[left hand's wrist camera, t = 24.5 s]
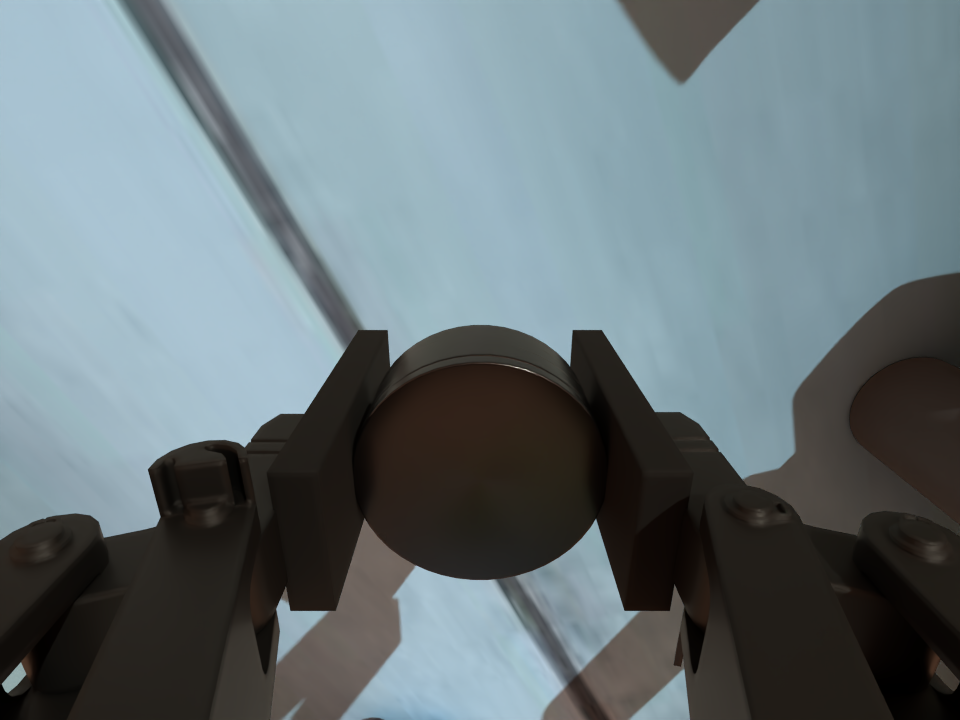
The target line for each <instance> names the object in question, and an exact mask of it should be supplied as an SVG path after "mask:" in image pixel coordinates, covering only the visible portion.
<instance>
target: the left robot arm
mask: <svg viewBox="0 0 960 720" xmlns="http://www.w3.org/2000/svg"><path fill="white" fill-rule="evenodd" d="M570 368H571V369H572V370H573V371H574V373H575V374H576V376H577V378H578V380H579V382H580V384H581V386H582V388H583V390H584V393H585V395H586V398H587V400H588V402H589V405H590V407H591V410H592V412H593V414H594V417H595V419H596V422H597V424H598V426H599V429H600V431H601V434H602V437H603V439H604V442H605V445H606V450H607V455H608V473H607V483H606V492H605V499H604V502H603V505H602V507H601V509H600V511H599V514H598V516H597V517H596V520H597V523H598V526H599V529H600V533H601V536H602V539H603V542H604V546H605V549H606V552H607V555H608V559H609V562H610V565H611V568H612V572H613V575H614V578H615V581H616V585H617V588H618V591H619V594H620V598H621V601H622V604H623V607H624V611H670V607H671V601H672V595H673V590H674V584H675V586H676V588H677V591H678V593H679V595H680V597H681V600H682V602H683V604H684V611H683V616H682V622H681V627H680V632H679V638H678V643H677V648H676V654H675V660H674V665H676V666H680V667H681V664H682V659H683V660H684V669H685V678H686V687H687V696H688V704H689V713H690V720H960V683H959V685H958V687H957V689H956V690H955V691H952V690H951V689H950V688H949V687H948V686H946V685H945V684H944V683H943V681H942V680H941V679H940V678H939V677H938V676H937V674H936V673H935V671H936V668H937V666H938V664H939V662H940V659H941V660H942V661H943V662H944V663H945V665H946V666H947V667H948V668H949V669H950V670H951V671H952V673H953V674H954V675H955V676H956V677H957V678H958V679H959V680H960V537H959V536H958V535H956V534H955V533H953V532H952V531H950V530H949V529H946V528H944V527H942V526H940V525H938V524H935V523H933V522H932V521H930V520H928V519H925V518H922V517H919V516H918V517H916V516H915V515H911V514H907V513H898V512H889V511H883V512H876V513H870V514H869V515H868V516H867V517H865V518H864V519H863V520H862V523H861V526H860V529H859V532H858V535H852V534H847V533H842V532H837V531H832V530H827V529H822V528H817V527H813V526H809V525H805V524H803V523H802V521H801V519H800V517H799V515H798V514H797V513H796V511H795V510H794V509H793V508H792V506H791V505H789V504H788V503H787V502H785V501H784V500H782V499H781V498H779V497H778V496H776V495H774V494H772V493H769V492H767V491H765V490H762V489H760V488H755V487H751V486H747V485H746V484H745V483H744V481H743V480H742V479H741V477H740V476H739V475H738V474H737V472H736V471H735V470H734V468H733V467H732V466H731V465H730V463H729V462H728V461H727V459H726V458H725V457H724V456H723V454H722V453H721V452H719V451H718V448H717V447H716V445H715V444H714V443H713V441H712V440H710V438H709V436H708V435H707V434H706V432H705V431H704V430H703V429H702V427H701V426H700V425H699V424H698V423H696V422H695V421H693V420H692V419H690V418H688V417H687V416H685V415H684V414H682V413H680V412H654V410H653V409H652V407H651V405H650V404H649V402H648V401H647V399H646V398H645V396H644V395H643V393H642V392H641V390H640V389H639V387H638V385H637V384H636V382H635V381H634V379H633V378H632V376H631V375H630V373H629V372H628V370H627V368H626V367H625V365H624V364H623V362H622V361H621V359H620V358H619V356H618V355H617V353H616V351H615V350H614V348H613V347H612V345H611V344H610V342H609V341H608V339H607V338H606V336H605V334H604V333H603V331H602V330H573V334H572V349H571V364H570ZM389 369H390V359H389V344H388V330H358V332H357V333H356V335H355V337H354V338H353V340H352V341H351V343H350V344H349V346H348V347H347V349H346V350H345V352H344V354H343V355H342V357H341V358H340V360H339V361H338V363H337V364H336V366H335V367H334V369H333V371H332V372H331V374H330V375H329V377H328V378H327V380H326V381H325V383H324V384H323V386H322V387H321V389H320V391H319V392H318V394H317V395H316V397H315V398H314V400H313V401H312V403H311V404H310V406H309V408H308V409H307V411H306V412H305V414H280V415H278V416H277V417H275V418H273V419H272V420H270V421H269V422H267V423H265V424H264V425H262V426H261V427H260V429H259V430H258V431H257V433H256V434H255V435H254V436H253V438H252V439H251V442H249V443H248V444H247V446H246V447H245V448H244V447H243V446H242V445H240V444H239V443H236V442H231V441H227V440H209V441H203V442H198V443H193V444H189V445H186V446H183V447H181V448H178V449H175V450H173V451H171V452H169V453H167V454H166V455H164V456H162V457H161V458H159V459H157V460H156V461H155V462H154V463H153V464H152V466H151V467H150V468H149V469H148V472H149V475H150V479H151V483H152V487H153V490H154V494H155V498H156V501H157V505H158V509H159V512H160V516H161V518H160V520H159V522H158V524H157V526H156V527H153V528H149V529H145V530H141V531H136V532H131V533H126V534H121V535H116V536H111V537H106V538H104V537H103V534H102V531H101V528H100V525H99V522H98V521H97V520H96V519H94V518H93V517H92V516H90V515H83V514H67V515H58V516H52V517H47V518H46V519H40V520H37V521H34V522H32V523H30V524H29V525H27V526H25V527H23V528H20V529H18V530H16V531H14V532H12V533H11V534H9V535H8V536H6V537H5V538H3V539H2V540H0V720H270V715H271V706H272V697H273V688H274V679H275V670H276V661H277V652H278V643H279V634H280V629H279V622H278V616H277V611H276V608H277V606H278V603H279V601H280V599H281V596H282V594H283V592H284V590H285V587H286V588H287V593H288V599H289V605H290V611H336V608H337V605H338V602H339V599H340V595H341V592H342V589H343V586H344V582H345V579H346V576H347V573H348V569H349V566H350V563H351V560H352V556H353V553H354V550H355V547H356V543H357V540H358V537H359V534H360V530H361V527H362V524H363V521H364V516H363V514H362V512H361V509H360V507H359V505H358V502H357V499H356V495H355V488H354V479H353V468H352V460H353V454H354V449H355V444H356V441H357V439H358V436H359V434H360V431H361V429H362V426H363V424H364V421H365V419H366V417H367V414H368V412H369V409H370V407H371V405H372V402H373V400H374V397H375V395H376V393H377V390H378V388H379V385H380V383H381V381H382V380H383V378H384V376H385V374H386V373H387V371H388V370H389ZM20 662H21V663H22V665H23V667H24V670H25V672H26V674H27V675H26V676H25V677H24V678H23V679H22V680H21V682H20V683H19V684H18V685H17V686H16V687H15V688H14V689H12V690H11V691H10V692H9V693H7V692H5V690H4V688H3V686H2V683H3V682H4V681H5V679H6V678H7V677H8V676H9V675H10V674H11V673H12V671H13V670H14V669H15V668H16V667H17V666H18V665H19V663H20Z"/></svg>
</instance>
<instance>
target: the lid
mask: <svg viewBox="0 0 960 720" xmlns="http://www.w3.org/2000/svg"><path fill="white" fill-rule="evenodd" d="M352 468H353V479H354V488H355V495H356V499H357V502H358V505H359V507H360V509H361V512H362V514H363V516H364V518H365V519H366V521H367V523H368V524H369V526H370V527H371V529H372V530H373V531H374V532H375V534H376V535H377V536H378V537H379V538H380V539H381V540H382V541H383V542H384V543H385V544H386V545H387V546H388V547H389V548H390V549H391V550H393V551H394V552H395V553H397V554H398V555H399V556H401V557H402V558H404V559H406V560H407V561H409V562H411V563H413V564H414V565H417V566H419V567H421V568H423V569H426V570H428V571H431V572H434V573H437V574H440V575H444V576H449V577H454V578H460V579H469V580H491V579H502V578H507V577H512V576H517V575H520V574H524V573H527V572H530V571H533V570H535V569H538V568H540V567H542V566H544V565H547V564H548V563H550V562H552V561H553V560H555V559H557V558H559V557H560V556H561V555H563V554H564V553H565V552H567V551H568V550H570V549H571V548H572V547H573V546H574V545H575V544H576V543H577V542H578V541H579V540H580V539H581V538H582V537H583V536H584V535H585V533H586V532H587V531H588V530H589V529H590V527H591V526H592V524H593V522H594V521H595V519H596V517H597V516H598V514H599V511H600V509H601V507H602V505H603V502H604V499H605V492H606V483H607V473H608V455H607V450H606V445H605V442H604V439H603V437H602V434H601V431H600V429H599V426H598V424H597V422H596V419H595V417H594V414H593V412H592V410H591V407H590V405H589V402H588V400H587V398H586V395H585V393H584V390H583V388H582V386H581V384H580V382H579V380H578V378H577V376H576V374H575V373H574V371H573V370H572V369H571V368H570V366H569V365H568V364H567V362H566V361H565V360H564V359H563V358H562V357H561V356H560V355H559V354H558V353H557V352H555V351H554V350H553V349H551V348H550V347H549V346H547V345H546V344H545V343H543V342H541V341H539V340H538V339H536V338H534V337H532V336H530V335H527V334H525V333H522V332H520V331H517V330H513V329H509V328H505V327H499V326H491V325H470V326H462V327H456V328H452V329H448V330H444V331H441V332H439V333H436V334H433V335H431V336H429V337H427V338H425V339H423V340H421V341H420V342H418V343H416V344H415V345H413V346H412V347H411V348H409V349H408V350H407V351H405V352H404V353H403V354H402V355H401V356H400V357H399V358H398V359H397V360H396V361H395V362H394V363H393V365H392V366H391V367H390V369H389V370H388V371H387V373H386V374H385V376H384V378H383V380H382V381H381V383H380V385H379V388H378V390H377V393H376V395H375V397H374V400H373V402H372V405H371V407H370V409H369V412H368V414H367V417H366V419H365V421H364V424H363V426H362V429H361V431H360V434H359V436H358V439H357V441H356V444H355V449H354V454H353V460H352Z"/></svg>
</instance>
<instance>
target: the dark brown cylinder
mask: <svg viewBox="0 0 960 720" xmlns="http://www.w3.org/2000/svg"><path fill="white" fill-rule="evenodd" d="M850 427H851V431H852V433H853V435H854V437H855V439H856V440H857V441H858V443H859V444H860V445H862V446H863V447H864V448H865V449H867V450H868V451H869V452H870V453H871V454H873V455H874V456H875V457H876V458H878V459H879V460H880V461H881V462H883V463H884V464H885V465H886V466H888V467H889V468H890V469H891V470H893V471H894V472H895V473H896V474H898V475H899V476H900V477H901V478H902V479H904V480H905V481H906V482H907V483H909V484H910V485H911V486H912V487H914V488H915V489H916V490H917V491H919V492H920V493H921V494H922V495H924V496H925V497H926V498H927V499H929V500H930V501H931V502H932V503H933V504H935V505H936V506H937V507H938V508H940V509H941V510H942V511H943V512H945V513H946V514H947V515H948V516H950V517H951V518H952V519H953V520H955V521H956V522H957V523H958V524H960V369H959V368H957V367H955V366H953V365H951V364H949V363H946V362H944V361H942V360H939V359H935V358H927V357H919V358H910V359H906V360H902V361H899V362H896V363H894V364H892V365H890V366H888V367H886V368H884V369H882V370H881V371H879V372H878V373H877V374H875V375H874V376H873V377H872V378H871V379H869V380H868V381H867V382H866V383H865V385H864V386H863V387H862V388H861V390H860V391H859V392H858V394H857V396H856V398H855V399H854V402H853V404H852V407H851V411H850Z"/></svg>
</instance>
